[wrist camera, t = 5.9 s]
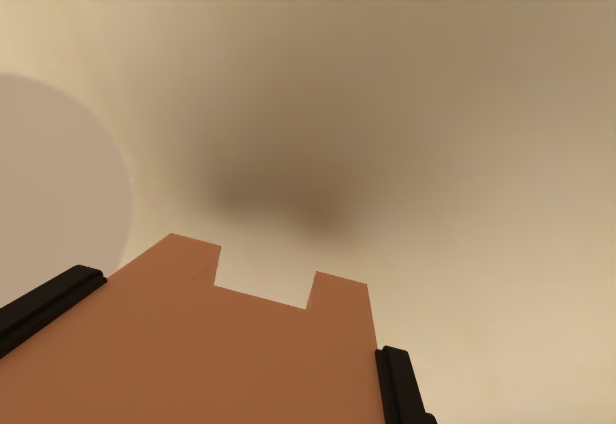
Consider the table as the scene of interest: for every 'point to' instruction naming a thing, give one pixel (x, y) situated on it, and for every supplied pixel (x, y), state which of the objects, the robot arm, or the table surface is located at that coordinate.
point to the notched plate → (197, 352)
